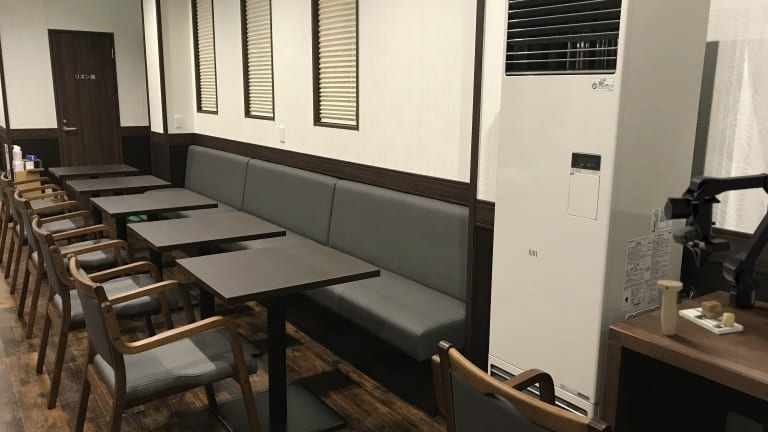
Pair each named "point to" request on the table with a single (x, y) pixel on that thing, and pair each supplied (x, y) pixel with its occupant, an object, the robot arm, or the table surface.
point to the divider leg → (710, 309)
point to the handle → (669, 305)
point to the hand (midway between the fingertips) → (699, 267)
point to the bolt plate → (713, 321)
